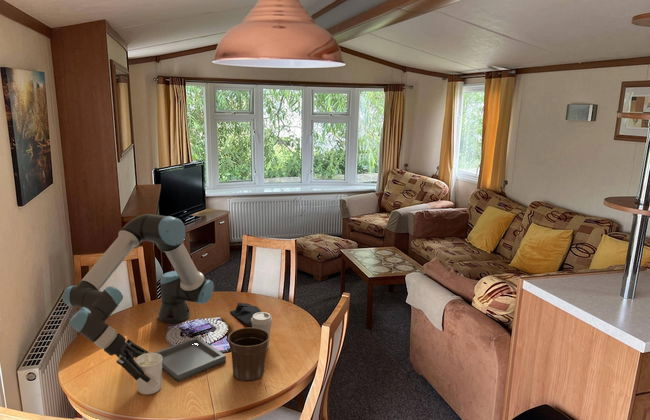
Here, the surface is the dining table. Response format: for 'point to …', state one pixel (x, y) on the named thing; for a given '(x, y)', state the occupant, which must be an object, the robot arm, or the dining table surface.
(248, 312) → the dark grey crumpled cloth
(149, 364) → the candle holder
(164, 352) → the tray
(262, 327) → the coffee cup
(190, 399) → the dining table surface
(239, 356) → the plant pot
